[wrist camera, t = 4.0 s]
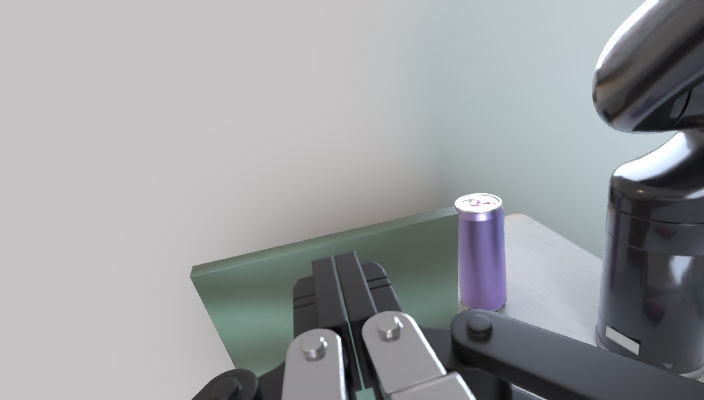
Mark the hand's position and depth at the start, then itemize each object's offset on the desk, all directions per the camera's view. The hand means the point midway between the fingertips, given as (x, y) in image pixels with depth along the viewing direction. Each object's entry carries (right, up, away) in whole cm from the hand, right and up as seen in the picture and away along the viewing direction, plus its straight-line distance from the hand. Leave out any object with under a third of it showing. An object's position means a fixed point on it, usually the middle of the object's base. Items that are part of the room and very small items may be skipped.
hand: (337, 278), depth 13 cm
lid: (0, -6, +11) cm, 12 cm away
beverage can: (+19, -11, +39) cm, 45 cm away
